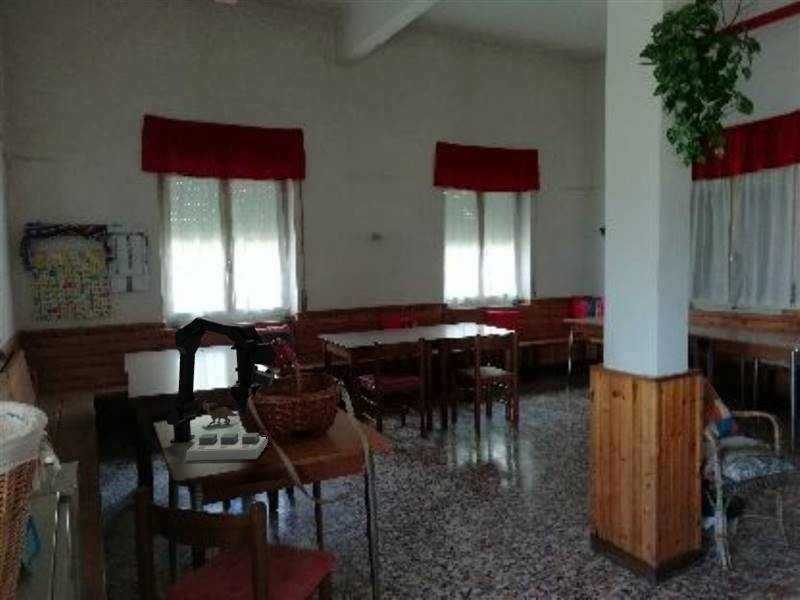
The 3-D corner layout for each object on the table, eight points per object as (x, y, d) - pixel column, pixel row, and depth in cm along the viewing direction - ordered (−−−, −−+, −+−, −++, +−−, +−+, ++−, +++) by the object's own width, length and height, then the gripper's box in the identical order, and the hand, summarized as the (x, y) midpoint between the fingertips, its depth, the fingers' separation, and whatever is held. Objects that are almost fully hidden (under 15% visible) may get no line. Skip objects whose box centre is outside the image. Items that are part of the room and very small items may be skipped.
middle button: (225, 441, 200) (224, 433, 200) (238, 440, 200) (237, 433, 200) (220, 445, 196) (220, 437, 196) (234, 444, 196) (233, 437, 196)
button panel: (202, 446, 204) (202, 436, 204) (267, 444, 203) (267, 434, 203) (186, 460, 190) (186, 449, 190) (256, 458, 189) (256, 448, 189)
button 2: (246, 440, 200) (245, 433, 200) (259, 440, 200) (259, 432, 200) (242, 444, 196) (241, 437, 195) (255, 444, 195) (255, 436, 195)
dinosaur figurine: (199, 427, 228) (198, 402, 227) (203, 422, 233) (202, 399, 233) (237, 425, 229) (235, 400, 228) (239, 420, 234) (238, 397, 234)
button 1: (204, 441, 200) (203, 434, 200) (217, 441, 200) (216, 433, 200) (199, 445, 196) (198, 438, 196) (212, 445, 196) (212, 437, 196)
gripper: (262, 368, 186) (265, 418, 187) (277, 357, 204) (280, 403, 206) (227, 369, 186) (229, 419, 187) (245, 358, 205) (247, 404, 206)
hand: (248, 411), depth 197 cm, fingers open, 8 cm apart
